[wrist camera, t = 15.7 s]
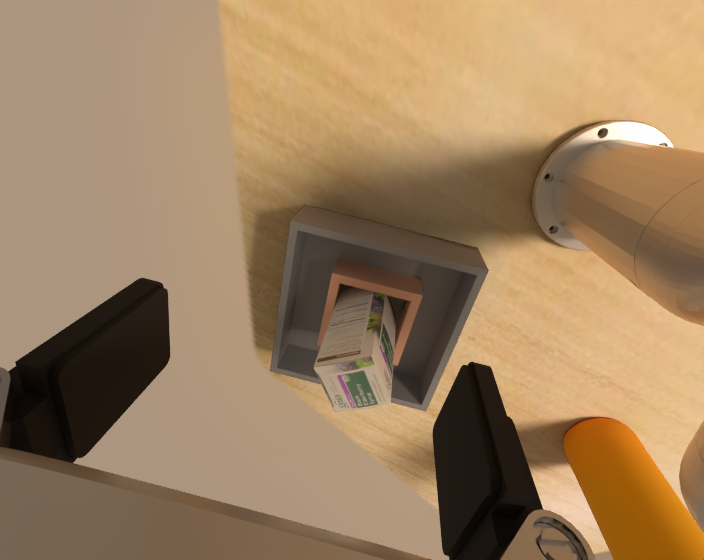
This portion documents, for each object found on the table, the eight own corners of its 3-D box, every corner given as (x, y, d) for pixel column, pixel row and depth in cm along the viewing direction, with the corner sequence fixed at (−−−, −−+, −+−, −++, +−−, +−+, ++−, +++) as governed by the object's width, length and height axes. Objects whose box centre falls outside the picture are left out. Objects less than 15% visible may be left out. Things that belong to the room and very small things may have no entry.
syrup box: (397, 317, 44) (395, 405, 31) (353, 327, 46) (333, 415, 33) (383, 277, 42) (374, 355, 29) (337, 289, 44) (310, 368, 31)
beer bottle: (629, 460, 51) (857, 822, 25) (559, 462, 53) (705, 800, 27) (636, 413, 47) (912, 784, 22) (560, 417, 49) (731, 761, 24)
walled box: (477, 247, 40) (488, 270, 35) (423, 377, 49) (426, 411, 44) (305, 204, 40) (290, 220, 35) (284, 342, 50) (269, 371, 44)
